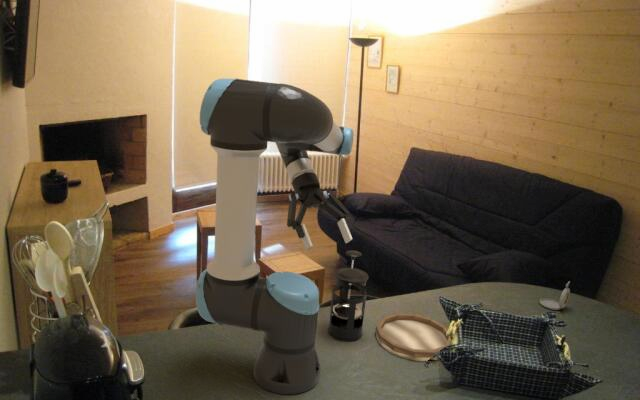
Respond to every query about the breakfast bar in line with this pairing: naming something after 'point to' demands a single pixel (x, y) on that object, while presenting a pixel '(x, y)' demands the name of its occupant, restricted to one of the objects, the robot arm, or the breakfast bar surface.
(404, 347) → the ring trivet
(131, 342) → the breakfast bar surface
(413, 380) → the breakfast bar surface
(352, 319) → the french press
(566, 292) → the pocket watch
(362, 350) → the breakfast bar surface
